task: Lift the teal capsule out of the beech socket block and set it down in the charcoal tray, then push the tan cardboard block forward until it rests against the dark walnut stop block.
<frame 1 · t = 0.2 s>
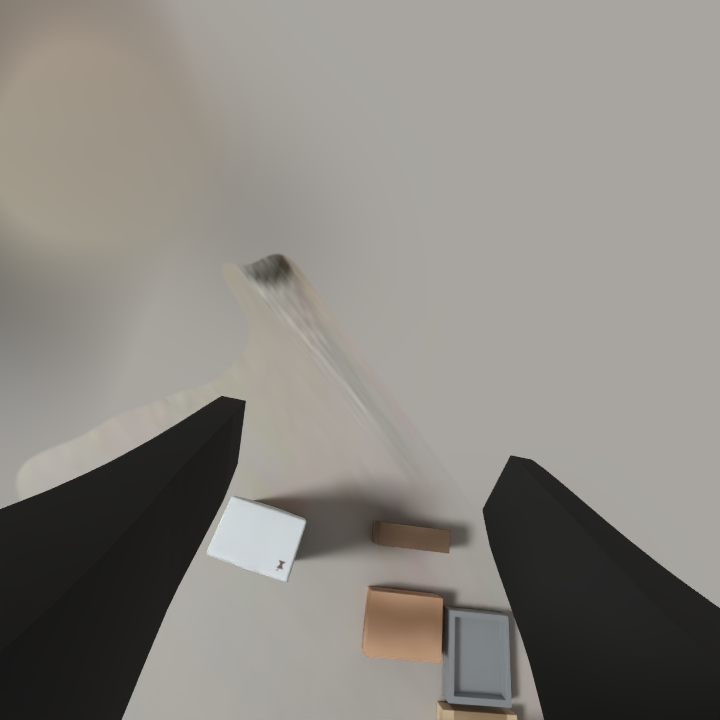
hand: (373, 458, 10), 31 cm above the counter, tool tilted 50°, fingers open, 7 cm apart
stop block: (405, 535, 38), on the counter
tan cardboard block: (398, 618, 36), on the counter
skincare box: (270, 529, 37), on the counter
tray: (472, 651, 35), on the counter
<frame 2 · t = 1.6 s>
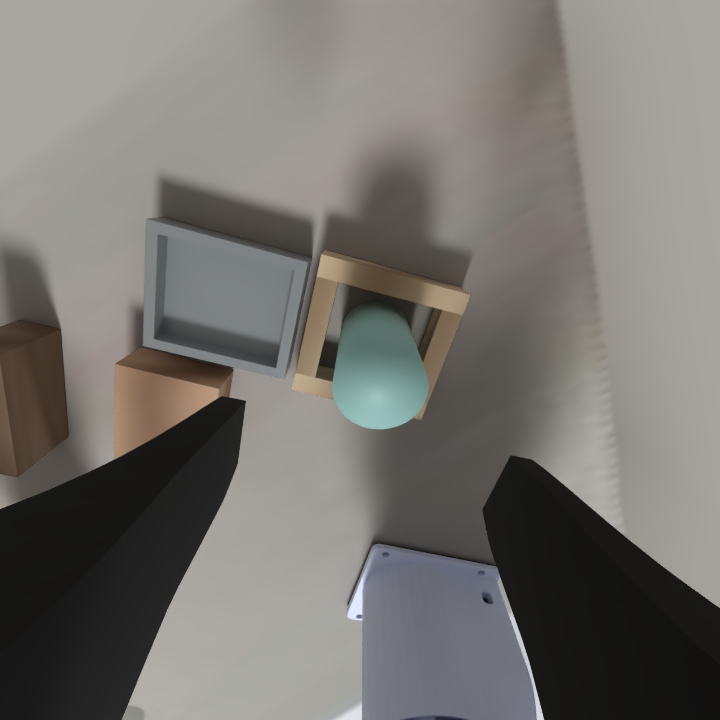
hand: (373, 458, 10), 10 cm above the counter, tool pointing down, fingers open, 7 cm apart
teal capsule: (377, 357, 16), in the socket block
stop block: (46, 382, 20), on the counter
socket block: (375, 334, 19), on the counter
tan cardboard block: (185, 408, 21), on the counter
tray: (231, 298, 18), on the counter
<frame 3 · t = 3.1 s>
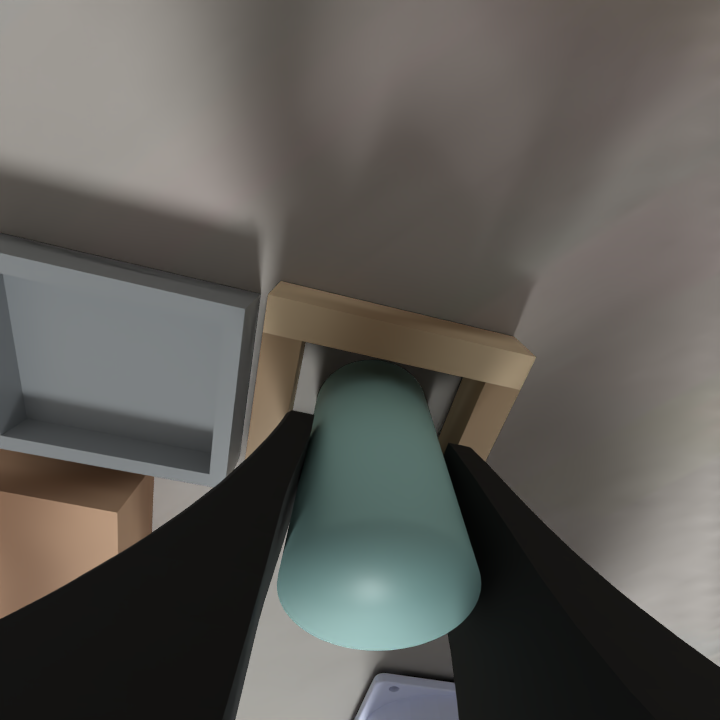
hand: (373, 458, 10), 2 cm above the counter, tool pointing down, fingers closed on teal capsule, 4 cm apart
teal capsule: (373, 473, 9), in the socket block, touching gripper
socket block: (370, 410, 12), on the counter
tan cardboard block: (91, 512, 14), on the counter
tray: (135, 360, 11), on the counter
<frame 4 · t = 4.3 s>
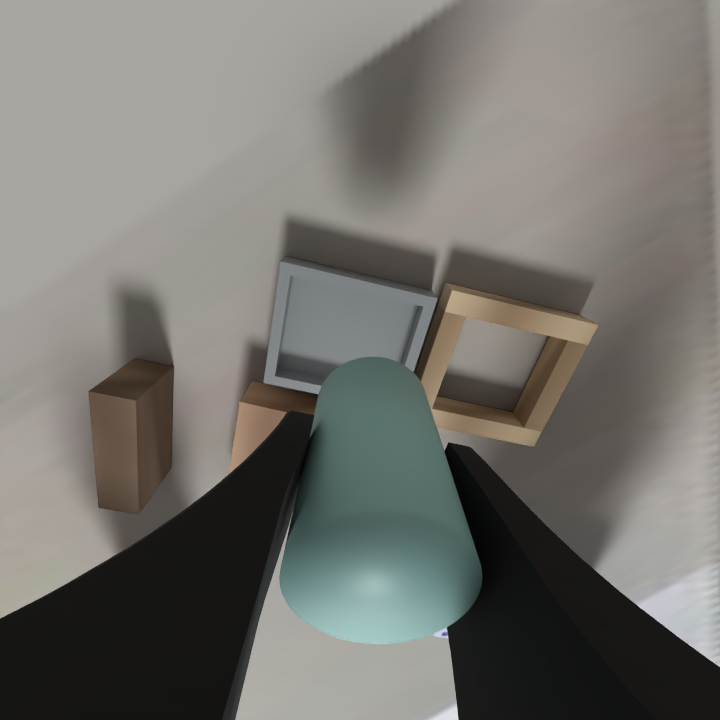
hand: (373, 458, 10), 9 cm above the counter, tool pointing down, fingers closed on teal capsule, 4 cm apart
teal capsule: (375, 469, 9), point 10 cm above the counter, touching gripper
stop block: (154, 417, 20), on the counter
socket block: (487, 363, 19), on the counter
tan cardboard block: (287, 438, 21), on the counter
tray: (347, 332, 18), on the counter
when the fingers open (4 cm above the counter, at t = 5.7 s): teal capsule drops 1 cm, resting on tray.
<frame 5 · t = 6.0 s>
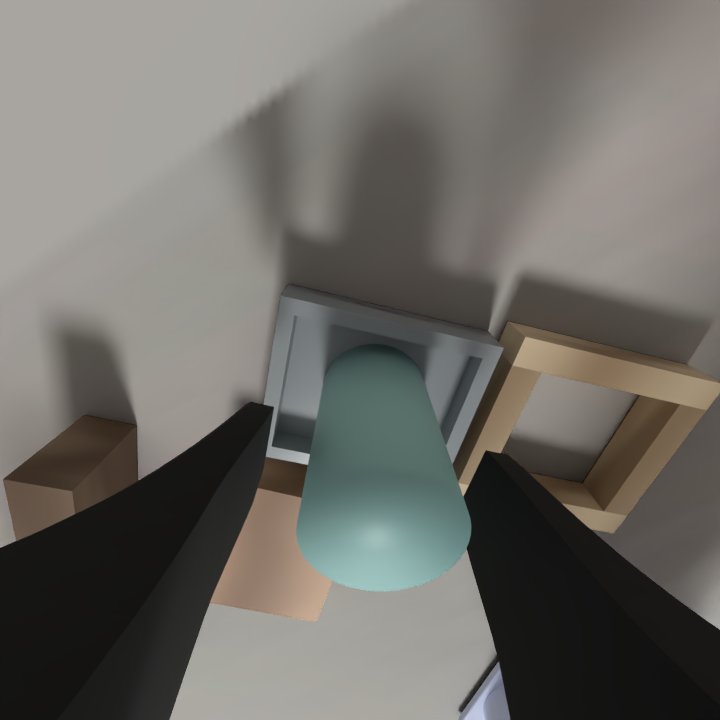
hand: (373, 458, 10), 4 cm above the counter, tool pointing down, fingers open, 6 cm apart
teal capsule: (377, 443, 10), point 4 cm above the counter, touching tray
stop block: (113, 486, 16), on the counter
socket block: (555, 424, 14), on the counter
tan cardboard block: (287, 510, 17), on the counter
tray: (369, 384, 13), on the counter
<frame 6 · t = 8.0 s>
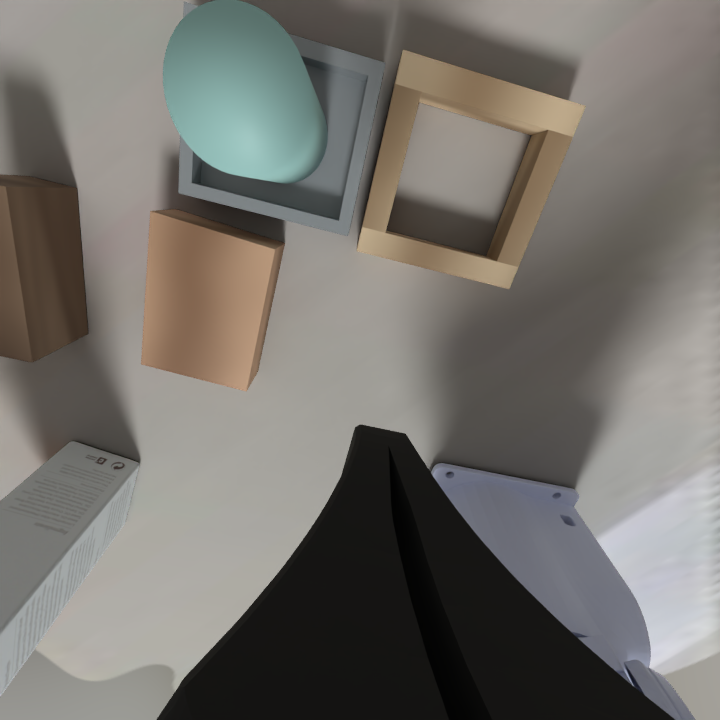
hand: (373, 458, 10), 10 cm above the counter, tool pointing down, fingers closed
teal capsule: (265, 118, 12), point 4 cm above the counter, touching tray
stop block: (61, 261, 17), on the counter
socket block: (453, 184, 16), on the counter
tan cardboard block: (223, 296, 18), on the counter
skincare box: (102, 481, 23), on the counter
tray: (283, 137, 15), on the counter
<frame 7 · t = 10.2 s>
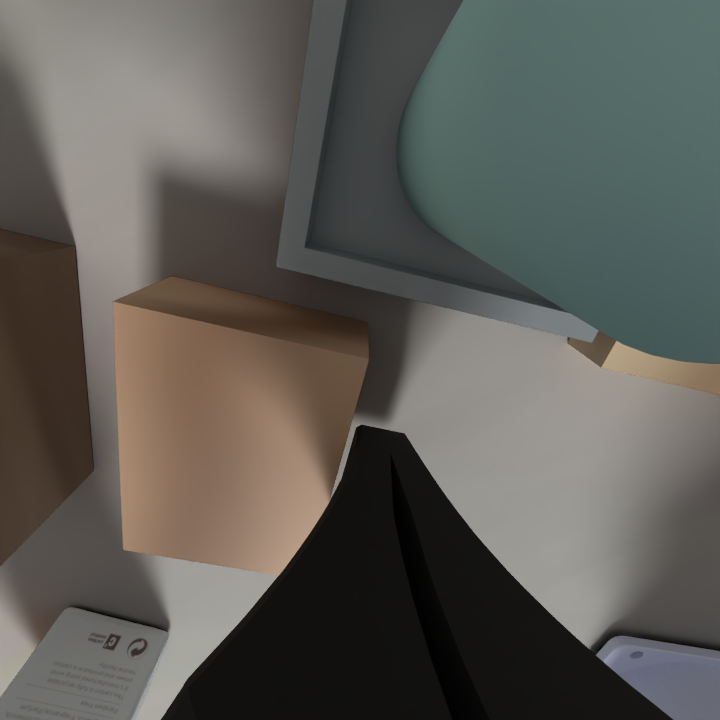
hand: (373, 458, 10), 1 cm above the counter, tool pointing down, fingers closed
teal capsule: (564, 125, 4), point 4 cm above the counter, touching tray
stop block: (47, 366, 10), on the counter
tan cardboard block: (257, 410, 11), on the counter
skincare box: (112, 648, 16), on the counter
tray: (471, 155, 8), on the counter
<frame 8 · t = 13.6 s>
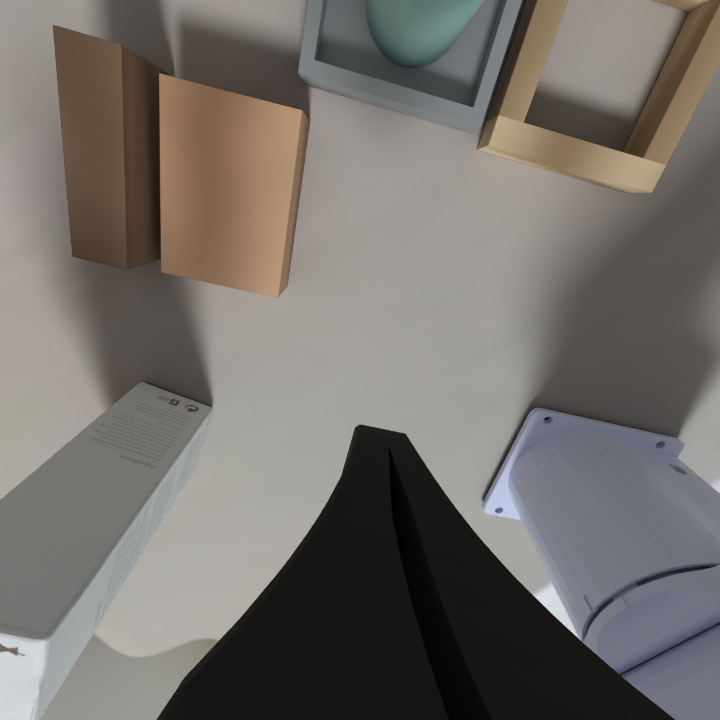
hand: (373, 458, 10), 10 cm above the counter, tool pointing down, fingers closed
stop block: (148, 168, 16), on the counter
socket block: (594, 73, 14), on the counter
tan cardboard block: (244, 197, 16), on the counter
skincare box: (168, 430, 22), on the counter
tray: (410, 15, 13), on the counter
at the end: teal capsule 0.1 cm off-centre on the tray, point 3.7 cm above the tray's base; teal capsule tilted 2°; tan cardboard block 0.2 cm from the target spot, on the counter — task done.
